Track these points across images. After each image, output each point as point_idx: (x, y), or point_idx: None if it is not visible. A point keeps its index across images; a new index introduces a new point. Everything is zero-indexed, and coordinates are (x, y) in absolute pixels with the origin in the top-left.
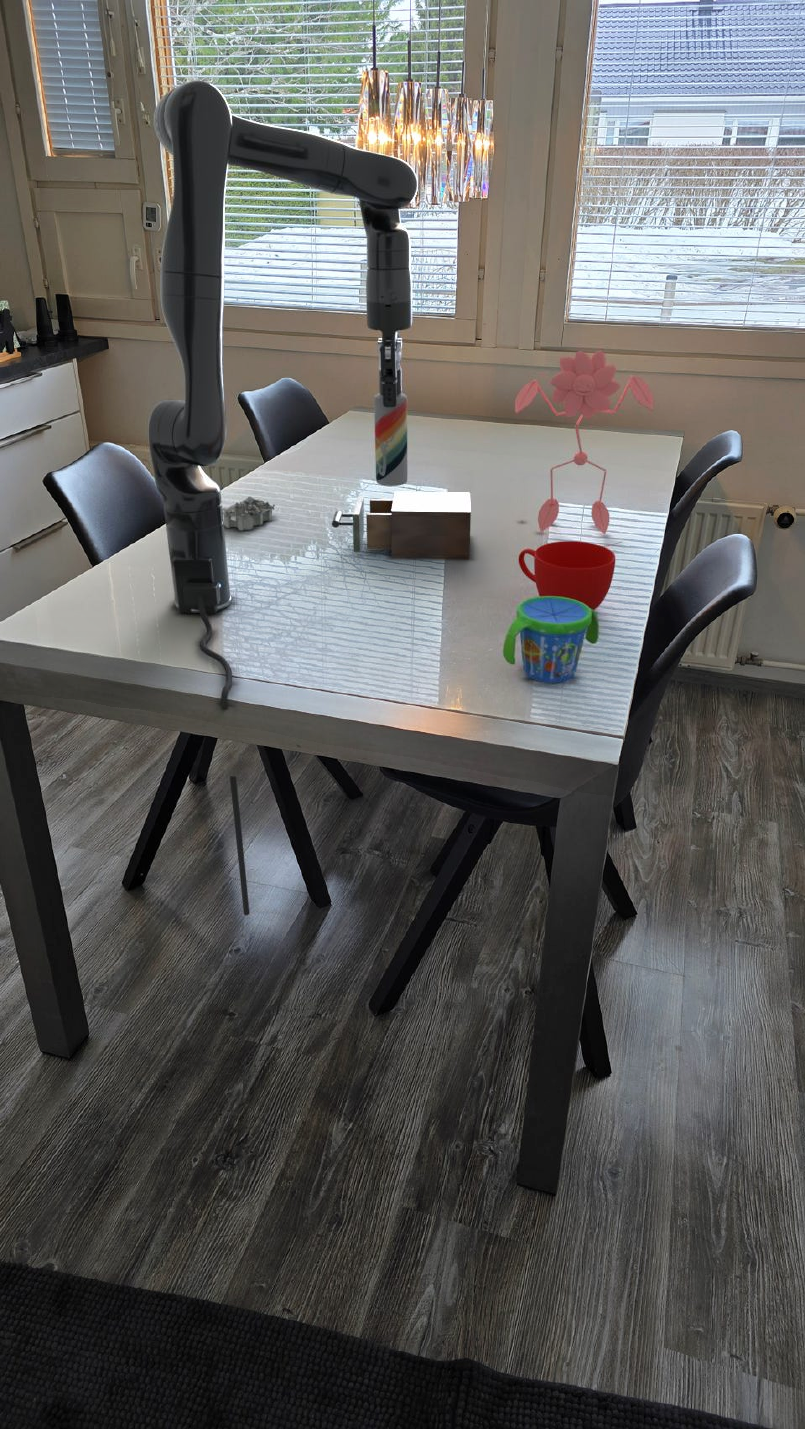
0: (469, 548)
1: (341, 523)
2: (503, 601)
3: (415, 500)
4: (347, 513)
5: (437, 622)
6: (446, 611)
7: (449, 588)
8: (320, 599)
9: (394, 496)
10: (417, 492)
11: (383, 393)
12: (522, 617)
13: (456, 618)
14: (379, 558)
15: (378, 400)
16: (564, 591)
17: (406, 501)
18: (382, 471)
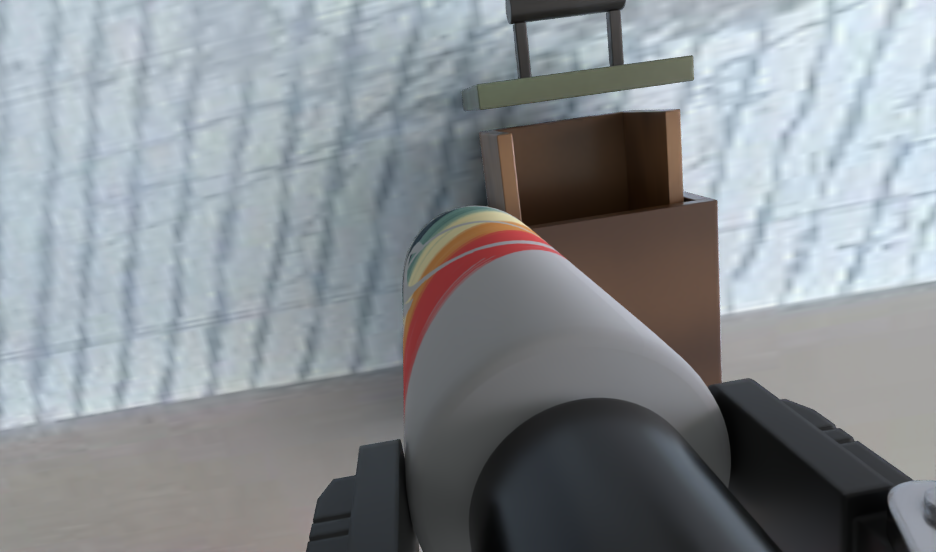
0: None
1: (514, 32)
2: (222, 532)
3: (621, 295)
4: (618, 31)
5: (36, 413)
6: (115, 421)
7: (273, 401)
8: (86, 68)
9: (660, 211)
10: (714, 284)
11: (355, 519)
12: None
13: (78, 451)
14: (459, 173)
15: (439, 395)
16: None
17: (605, 266)
18: (408, 261)
